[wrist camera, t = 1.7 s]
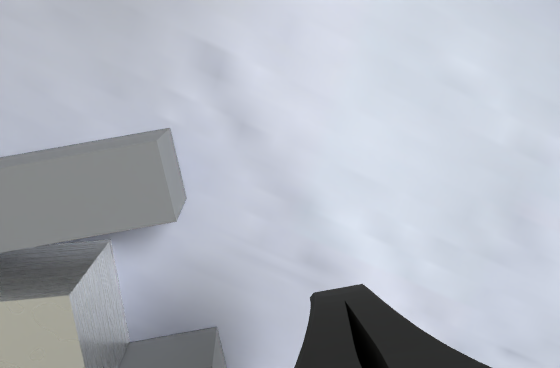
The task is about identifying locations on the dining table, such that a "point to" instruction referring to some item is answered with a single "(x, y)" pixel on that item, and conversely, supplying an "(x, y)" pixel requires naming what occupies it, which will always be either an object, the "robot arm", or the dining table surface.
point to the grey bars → (103, 215)
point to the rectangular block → (61, 307)
